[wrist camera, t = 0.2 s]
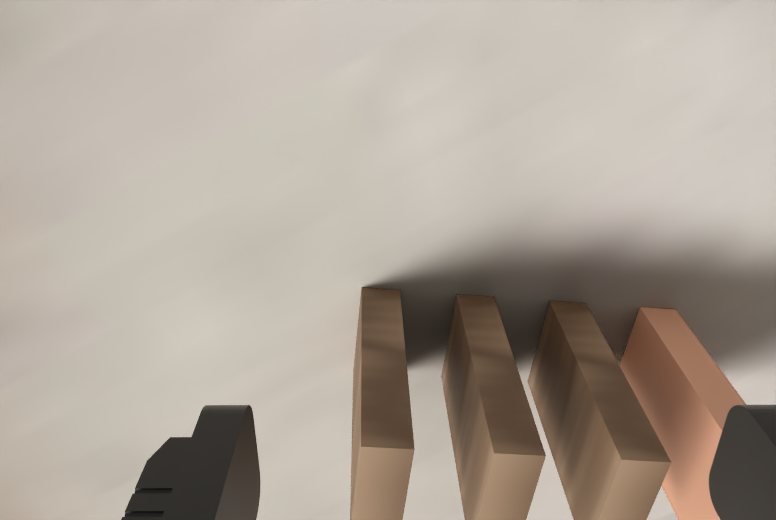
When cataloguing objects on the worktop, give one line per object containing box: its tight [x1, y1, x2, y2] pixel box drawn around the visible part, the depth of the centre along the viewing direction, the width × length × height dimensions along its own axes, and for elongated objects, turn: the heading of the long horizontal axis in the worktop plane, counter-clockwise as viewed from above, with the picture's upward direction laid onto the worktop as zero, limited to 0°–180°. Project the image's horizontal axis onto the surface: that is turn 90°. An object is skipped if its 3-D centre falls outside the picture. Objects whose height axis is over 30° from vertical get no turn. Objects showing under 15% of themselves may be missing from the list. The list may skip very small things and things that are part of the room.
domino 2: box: [441, 294, 546, 520], centre depth 28 cm, size 2×5×10 cm, turn 174°
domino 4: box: [619, 307, 746, 520], centre depth 28 cm, size 2×5×10 cm, turn 174°
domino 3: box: [528, 301, 672, 520], centre depth 28 cm, size 2×5×10 cm, turn 174°
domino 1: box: [350, 288, 414, 520], centre depth 27 cm, size 2×5×10 cm, turn 174°
